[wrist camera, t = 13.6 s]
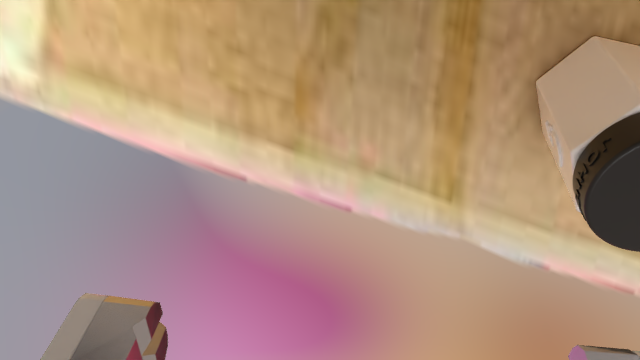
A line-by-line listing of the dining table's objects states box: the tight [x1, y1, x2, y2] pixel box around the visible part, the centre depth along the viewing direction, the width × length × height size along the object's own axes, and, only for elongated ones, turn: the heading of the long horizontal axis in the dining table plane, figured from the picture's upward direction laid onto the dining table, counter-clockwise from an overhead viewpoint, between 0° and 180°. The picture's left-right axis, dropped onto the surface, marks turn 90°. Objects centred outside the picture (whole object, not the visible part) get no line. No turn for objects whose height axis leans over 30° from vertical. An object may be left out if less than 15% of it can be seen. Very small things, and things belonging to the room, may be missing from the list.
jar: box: [536, 36, 640, 252], centre depth 33 cm, size 9×8×12 cm
